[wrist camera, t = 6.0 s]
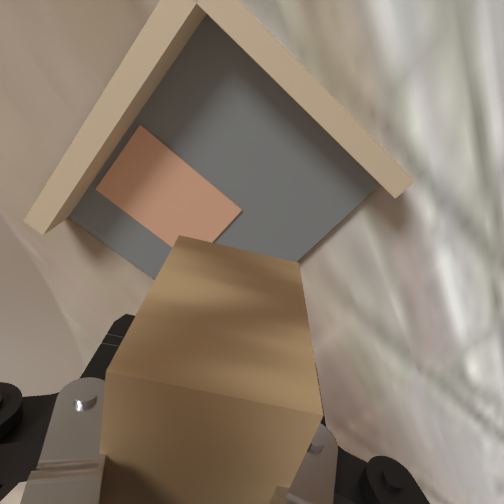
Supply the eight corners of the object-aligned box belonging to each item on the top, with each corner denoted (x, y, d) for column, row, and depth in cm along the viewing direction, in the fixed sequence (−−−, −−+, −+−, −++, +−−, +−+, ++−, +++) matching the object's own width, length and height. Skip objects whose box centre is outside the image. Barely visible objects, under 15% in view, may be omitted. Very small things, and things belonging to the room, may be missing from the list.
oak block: (299, 262, 12) (323, 415, 7) (250, 408, 15) (240, 592, 10) (179, 234, 12) (105, 371, 6) (153, 388, 15) (89, 567, 10)
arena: (395, 165, 26) (415, 180, 22) (224, 325, 33) (218, 356, 29) (191, -43, 21) (173, -66, 18) (43, 193, 28) (9, 212, 25)
